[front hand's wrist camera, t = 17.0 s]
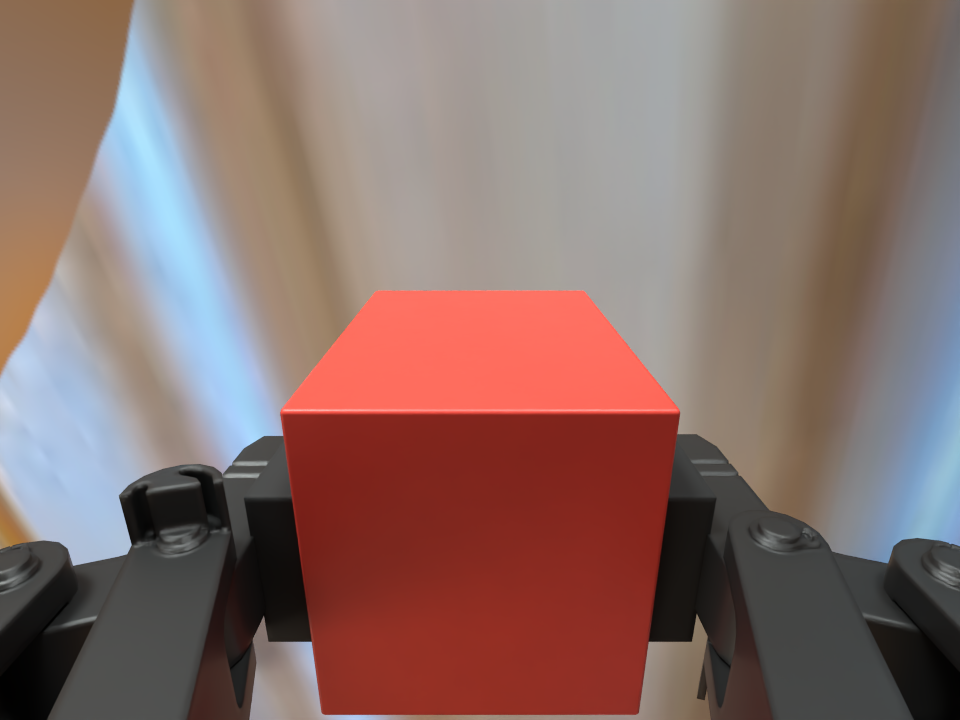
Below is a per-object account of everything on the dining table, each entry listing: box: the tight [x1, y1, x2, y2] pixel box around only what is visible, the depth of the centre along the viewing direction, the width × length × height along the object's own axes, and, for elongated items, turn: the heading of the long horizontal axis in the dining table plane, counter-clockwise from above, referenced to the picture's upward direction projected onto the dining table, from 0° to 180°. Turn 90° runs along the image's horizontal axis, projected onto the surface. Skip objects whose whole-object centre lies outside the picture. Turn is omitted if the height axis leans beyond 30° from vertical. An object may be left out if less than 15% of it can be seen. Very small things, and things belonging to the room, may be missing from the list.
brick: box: [280, 291, 680, 715], centre depth 11 cm, size 6×5×7 cm
